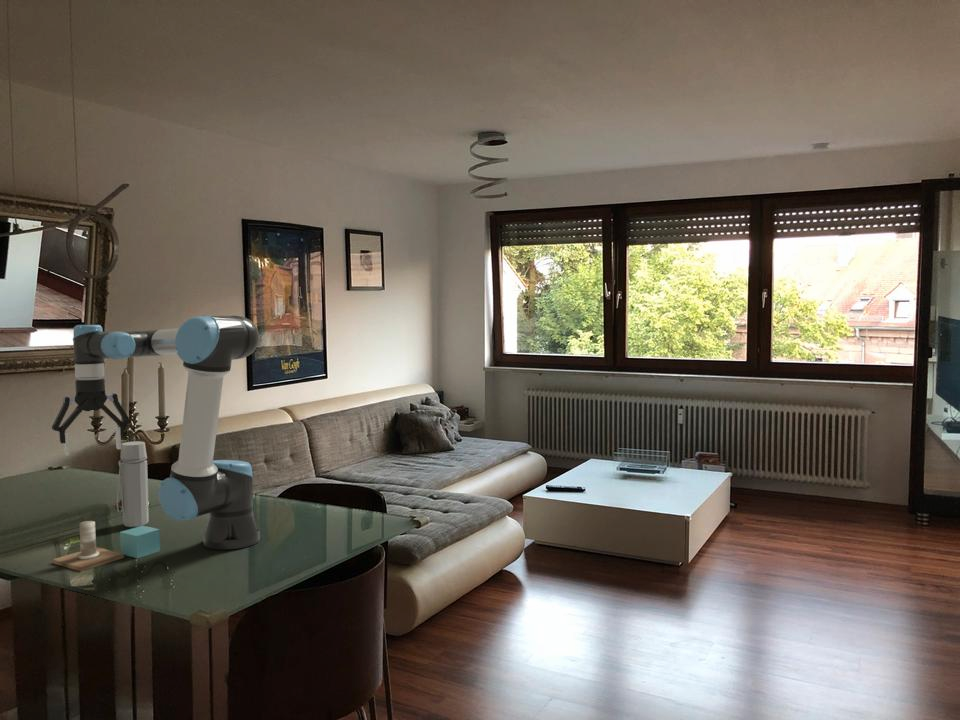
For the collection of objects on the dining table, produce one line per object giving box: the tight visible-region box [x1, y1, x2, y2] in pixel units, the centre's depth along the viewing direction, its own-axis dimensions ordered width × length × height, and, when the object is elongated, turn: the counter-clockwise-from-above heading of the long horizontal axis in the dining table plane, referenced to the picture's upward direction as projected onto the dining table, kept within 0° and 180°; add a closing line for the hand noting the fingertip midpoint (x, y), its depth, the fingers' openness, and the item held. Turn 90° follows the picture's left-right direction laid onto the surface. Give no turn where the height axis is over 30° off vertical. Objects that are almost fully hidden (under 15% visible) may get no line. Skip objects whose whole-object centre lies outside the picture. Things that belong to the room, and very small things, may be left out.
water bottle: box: [115, 440, 150, 528], centre depth 230 cm, size 9×8×25 cm
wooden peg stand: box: [51, 520, 125, 572], centre depth 199 cm, size 12×12×10 cm
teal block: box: [119, 525, 161, 559], centre depth 205 cm, size 7×7×6 cm
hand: (93, 451), depth 220 cm, fingers open, 13 cm apart
